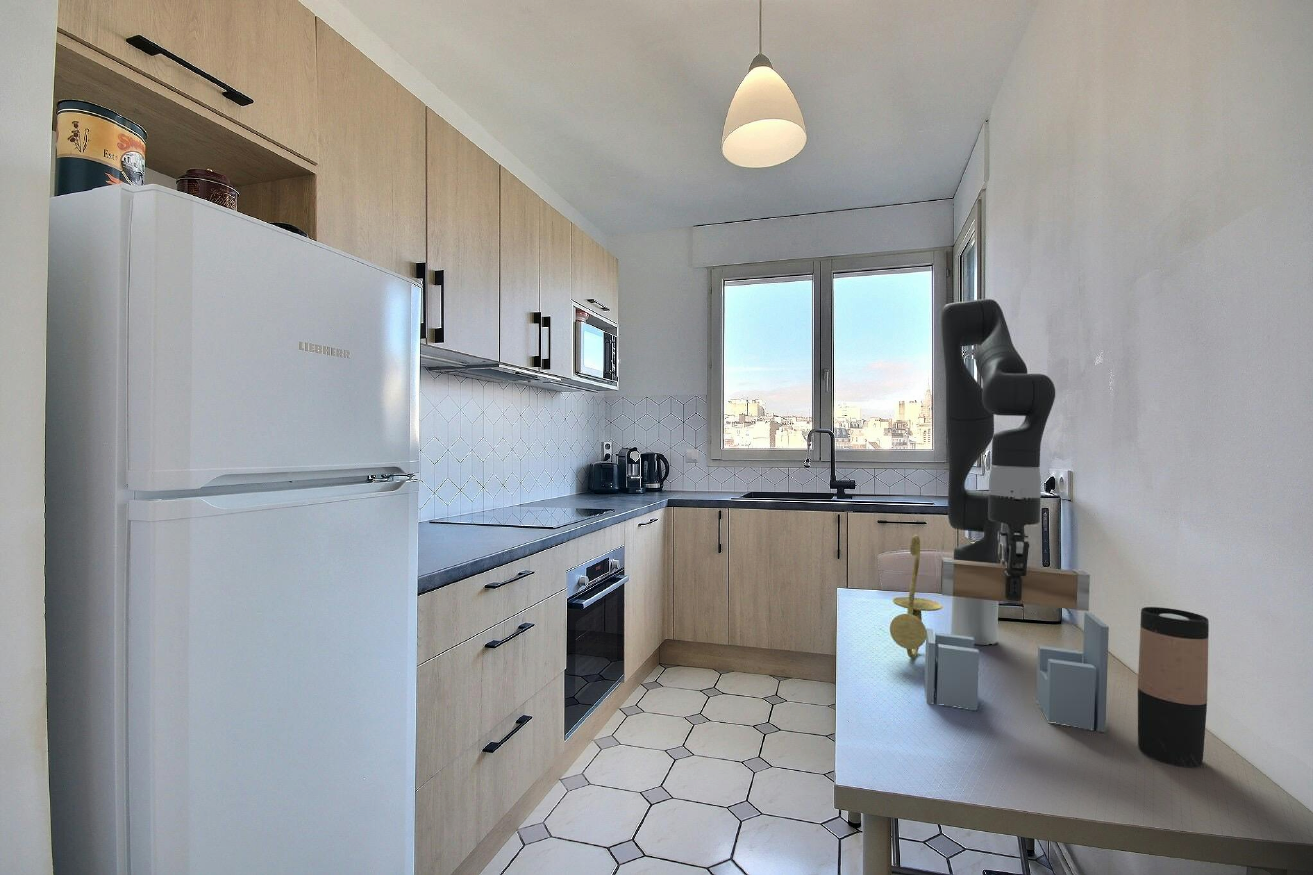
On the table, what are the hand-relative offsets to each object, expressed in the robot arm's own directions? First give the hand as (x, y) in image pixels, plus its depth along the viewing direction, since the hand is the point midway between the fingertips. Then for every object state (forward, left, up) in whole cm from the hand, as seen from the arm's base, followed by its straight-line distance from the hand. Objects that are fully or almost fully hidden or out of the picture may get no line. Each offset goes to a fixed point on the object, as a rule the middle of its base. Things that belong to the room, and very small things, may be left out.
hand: (1010, 596), depth 105 cm
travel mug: (+9, +19, -18) cm, 28 cm away
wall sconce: (-19, -14, -18) cm, 30 cm away
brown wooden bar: (0, 0, -1) cm, 1 cm away
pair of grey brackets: (0, 0, -18) cm, 18 cm away
